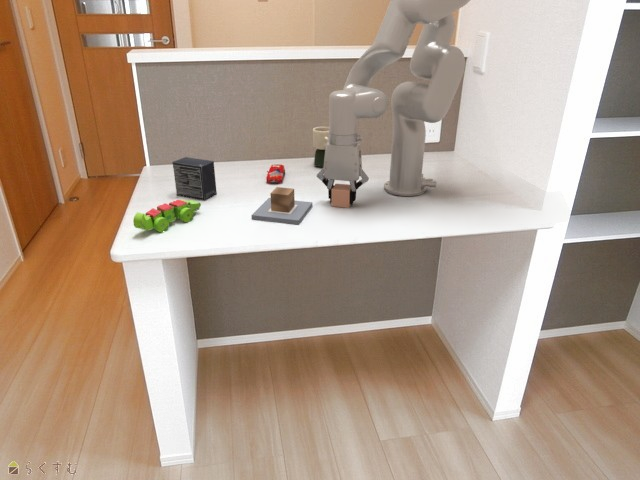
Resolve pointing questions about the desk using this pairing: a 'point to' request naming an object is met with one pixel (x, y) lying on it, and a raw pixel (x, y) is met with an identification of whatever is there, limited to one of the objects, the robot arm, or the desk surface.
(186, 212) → the toy crocodile
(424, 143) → the robot arm
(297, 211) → the board
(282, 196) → the walnut cube
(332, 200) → the terracotta cube
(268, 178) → the race car
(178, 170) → the small box
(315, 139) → the character mug
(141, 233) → the desk surface
